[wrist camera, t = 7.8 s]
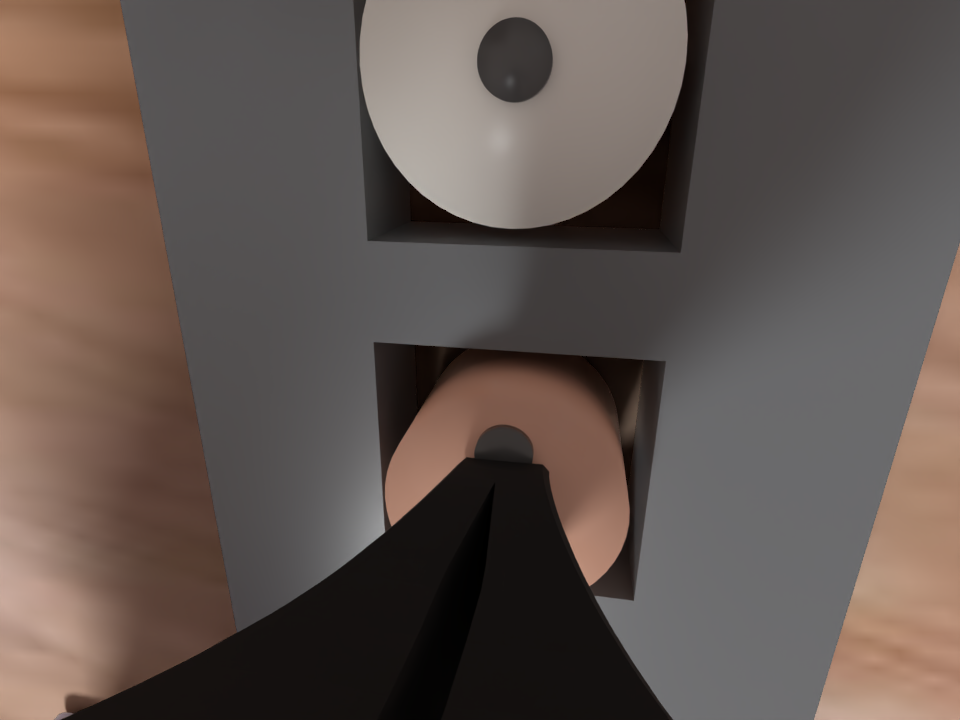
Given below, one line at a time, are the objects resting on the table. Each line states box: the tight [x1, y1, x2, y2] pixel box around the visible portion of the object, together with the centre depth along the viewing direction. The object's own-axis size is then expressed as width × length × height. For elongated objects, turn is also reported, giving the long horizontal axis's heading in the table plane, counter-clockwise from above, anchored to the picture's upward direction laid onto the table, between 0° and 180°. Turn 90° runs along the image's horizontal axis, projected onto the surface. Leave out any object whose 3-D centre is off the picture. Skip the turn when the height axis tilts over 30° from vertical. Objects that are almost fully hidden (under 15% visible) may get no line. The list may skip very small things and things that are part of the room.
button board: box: [120, 0, 960, 720], centre depth 11 cm, size 22×12×2 cm, turn 0°
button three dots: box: [385, 348, 630, 586], centre depth 11 cm, size 4×4×3 cm
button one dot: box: [360, 0, 688, 229], centre depth 8 cm, size 4×4×3 cm
